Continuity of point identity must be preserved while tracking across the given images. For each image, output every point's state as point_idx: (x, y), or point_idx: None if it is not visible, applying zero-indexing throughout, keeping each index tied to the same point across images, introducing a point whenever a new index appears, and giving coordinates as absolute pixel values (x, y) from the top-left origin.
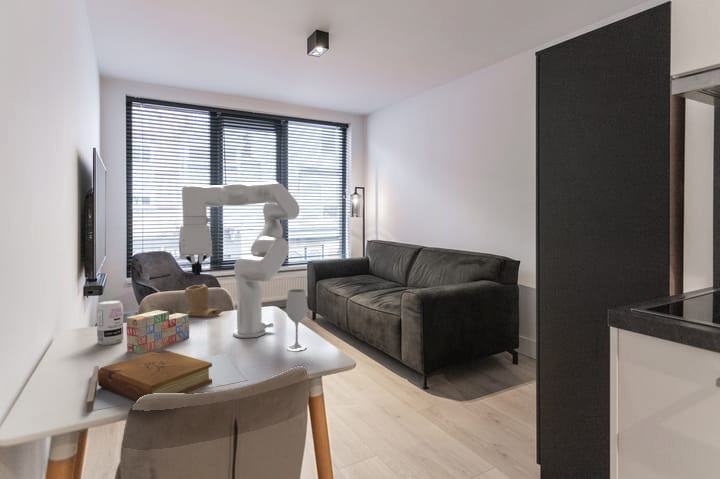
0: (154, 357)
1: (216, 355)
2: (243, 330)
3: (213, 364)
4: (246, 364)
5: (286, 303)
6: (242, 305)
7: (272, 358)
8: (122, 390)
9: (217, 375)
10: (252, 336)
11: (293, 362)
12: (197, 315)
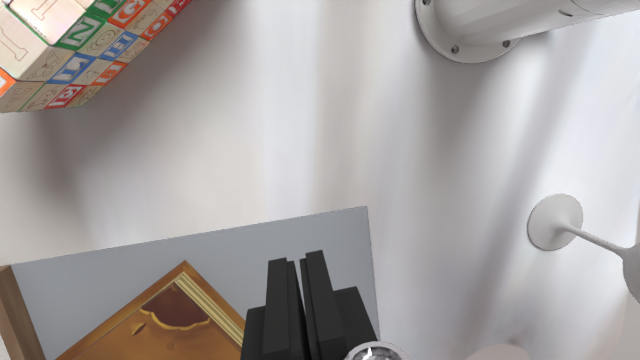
0: (161, 356)
1: (335, 213)
2: (457, 33)
3: None
4: (401, 304)
5: None
6: (527, 5)
7: (471, 280)
8: None
9: None
10: (473, 62)
11: (506, 321)
12: None
